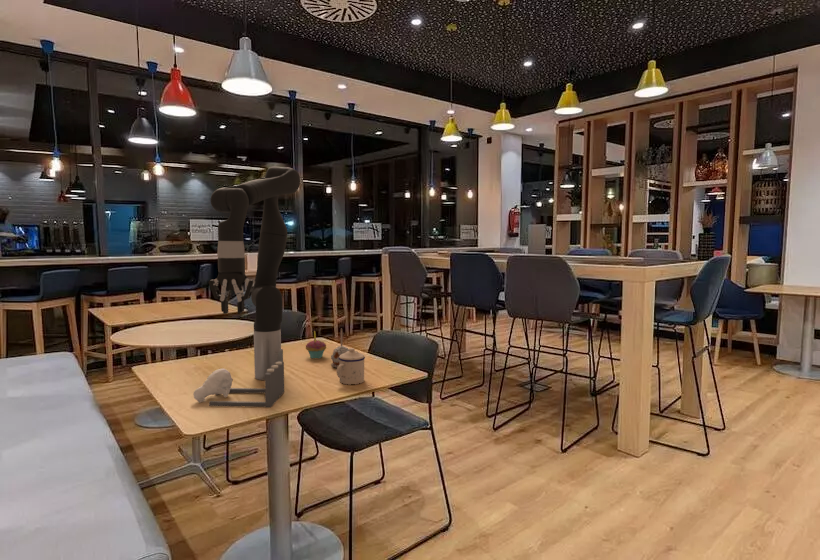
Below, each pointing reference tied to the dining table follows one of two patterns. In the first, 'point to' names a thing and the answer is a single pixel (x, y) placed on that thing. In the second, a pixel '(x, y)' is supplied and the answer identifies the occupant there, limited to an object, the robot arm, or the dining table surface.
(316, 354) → the cupcake
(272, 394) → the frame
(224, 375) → the cream figurine
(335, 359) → the decorative ornament
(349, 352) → the teacup with lid
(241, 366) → the dining table surface
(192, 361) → the dining table surface
